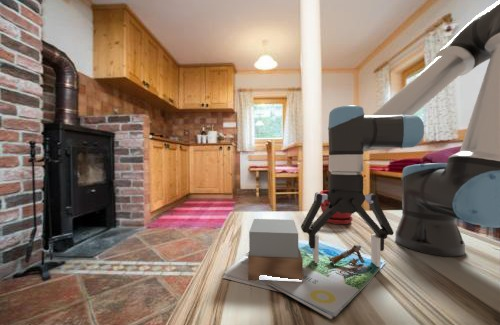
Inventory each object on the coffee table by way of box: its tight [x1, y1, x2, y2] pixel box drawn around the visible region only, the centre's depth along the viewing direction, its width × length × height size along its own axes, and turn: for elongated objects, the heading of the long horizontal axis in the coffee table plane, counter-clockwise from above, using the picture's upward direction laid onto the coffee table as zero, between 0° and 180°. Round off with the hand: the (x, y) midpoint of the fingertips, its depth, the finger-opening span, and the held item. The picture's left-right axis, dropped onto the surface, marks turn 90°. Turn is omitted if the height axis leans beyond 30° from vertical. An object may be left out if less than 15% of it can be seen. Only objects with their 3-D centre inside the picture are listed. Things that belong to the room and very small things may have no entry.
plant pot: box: [319, 189, 353, 225], centre depth 85 cm, size 13×13×12 cm
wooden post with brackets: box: [327, 244, 365, 266], centre depth 50 cm, size 2×8×4 cm, turn 93°
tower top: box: [248, 218, 299, 258], centre depth 48 cm, size 10×10×5 cm
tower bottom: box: [247, 246, 304, 281], centre depth 48 cm, size 11×11×5 cm
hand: (345, 263), depth 50 cm, fingers open, 13 cm apart
